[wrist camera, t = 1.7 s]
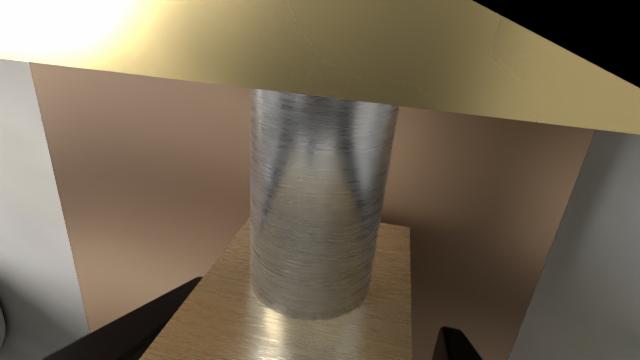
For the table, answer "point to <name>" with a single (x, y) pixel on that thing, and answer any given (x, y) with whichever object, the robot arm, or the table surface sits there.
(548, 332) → the table surface
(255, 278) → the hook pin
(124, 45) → the gold slab
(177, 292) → the robot arm
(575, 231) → the table surface
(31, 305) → the table surface
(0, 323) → the travel mug
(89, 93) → the copper board
